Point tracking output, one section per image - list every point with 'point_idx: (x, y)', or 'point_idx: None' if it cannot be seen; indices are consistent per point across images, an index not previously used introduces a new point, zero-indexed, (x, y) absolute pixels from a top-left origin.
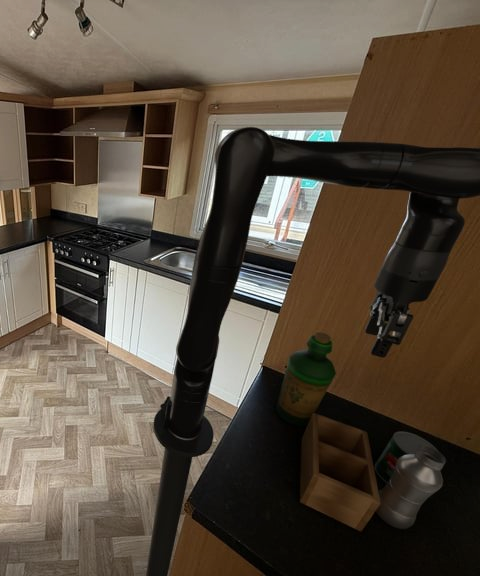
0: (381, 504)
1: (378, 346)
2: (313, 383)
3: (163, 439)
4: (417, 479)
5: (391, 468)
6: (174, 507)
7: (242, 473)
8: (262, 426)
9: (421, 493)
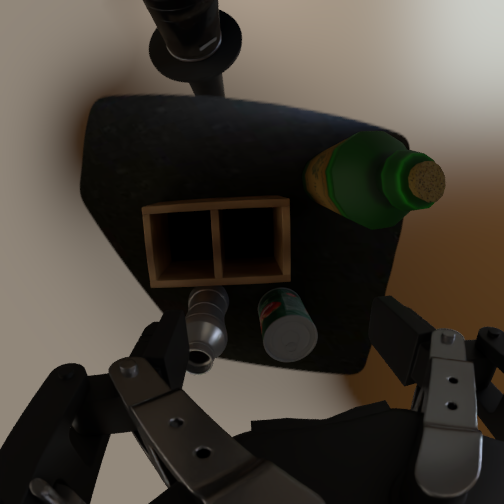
0: (196, 289)
1: (137, 345)
2: (328, 186)
3: (157, 31)
4: None
5: (266, 306)
6: None
7: (160, 129)
8: (269, 137)
9: None
